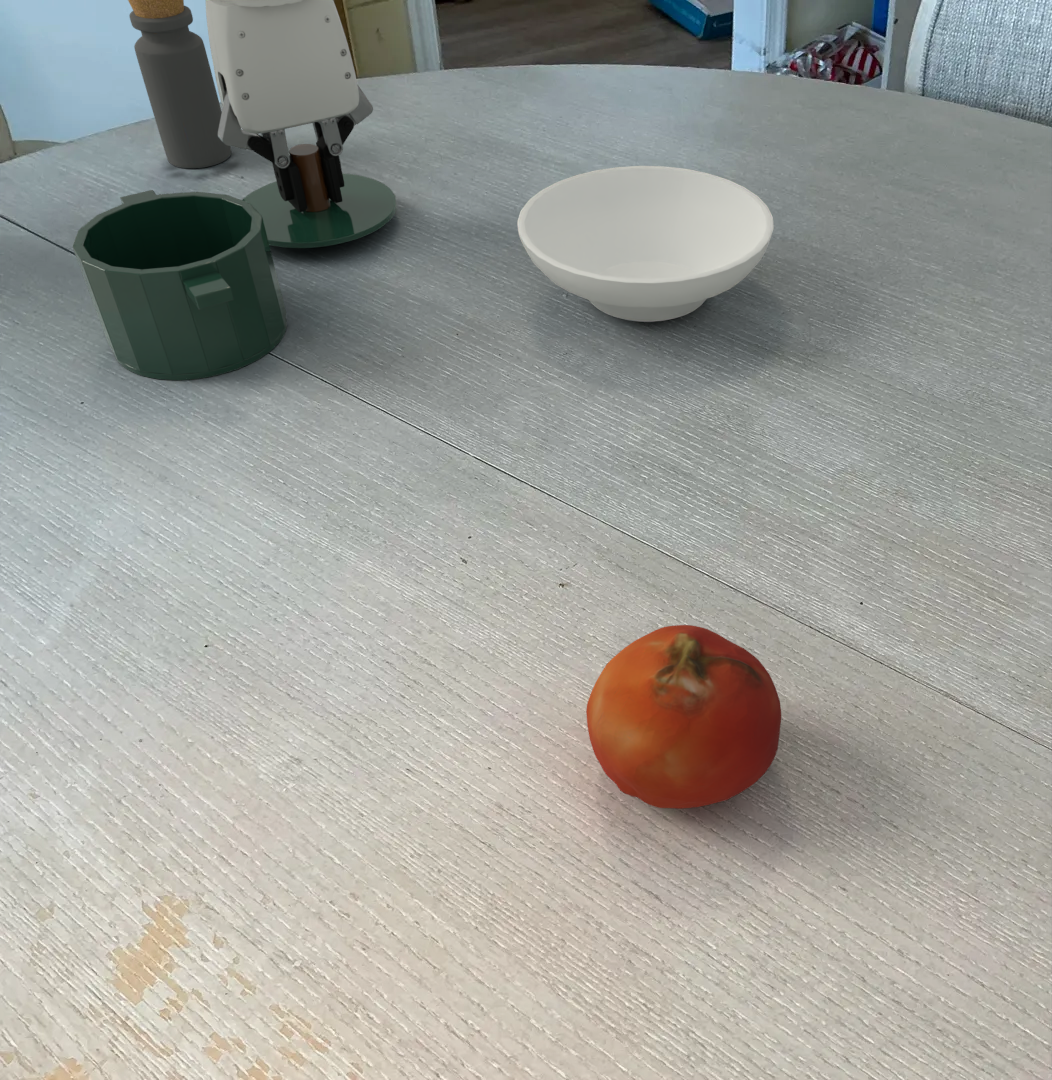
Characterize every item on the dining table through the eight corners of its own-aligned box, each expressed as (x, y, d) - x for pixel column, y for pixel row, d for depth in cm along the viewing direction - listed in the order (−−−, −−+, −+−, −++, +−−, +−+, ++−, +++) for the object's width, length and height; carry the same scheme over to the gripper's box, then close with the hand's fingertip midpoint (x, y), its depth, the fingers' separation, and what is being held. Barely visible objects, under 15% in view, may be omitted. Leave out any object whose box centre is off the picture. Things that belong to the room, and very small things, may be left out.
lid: (270, 270, 95) (251, 199, 91) (215, 207, 103) (196, 139, 99) (424, 228, 101) (413, 159, 97) (361, 172, 109) (348, 106, 105)
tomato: (553, 783, 58) (541, 674, 53) (661, 670, 64) (660, 562, 59) (707, 876, 55) (711, 769, 49) (808, 747, 60) (820, 639, 55)
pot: (151, 418, 81) (112, 309, 75) (84, 307, 91) (45, 204, 86) (325, 363, 86) (301, 257, 80) (242, 264, 97) (216, 165, 91)
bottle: (154, 164, 111) (103, -4, 101) (189, 140, 115) (144, -23, 105) (210, 172, 110) (164, 3, 100) (244, 147, 114) (202, -17, 104)
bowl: (482, 337, 89) (472, 255, 85) (580, 226, 103) (576, 151, 99) (728, 385, 85) (731, 302, 81) (795, 262, 99) (801, 186, 95)
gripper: (347, -56, 94) (385, 164, 107) (139, -25, 87) (206, 208, 99) (385, -33, 90) (420, 195, 102) (170, 2, 83) (236, 243, 95)
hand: (314, 199), depth 101 cm, fingers closed on lid, 2 cm apart
